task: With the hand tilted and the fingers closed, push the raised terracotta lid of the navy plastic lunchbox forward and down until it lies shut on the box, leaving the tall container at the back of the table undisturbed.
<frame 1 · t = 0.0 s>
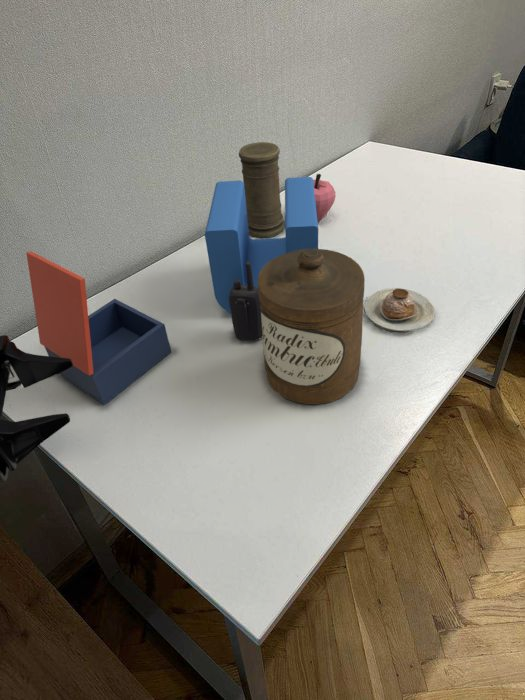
hand: (70, 388, 60), 16 cm above the table, tool horizontal, fingers open, 9 cm apart
two-way radio: (248, 338, 88), on the table
lunchbox: (114, 362, 85), on the table
block: (268, 289, 98), on the table
pastry: (398, 314, 90), on the table
wooden container: (312, 371, 81), on the table
apple: (315, 219, 117), on the table
container: (265, 228, 116), on the table
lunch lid: (60, 314, 73), point 14 cm above the table, hinge at 75.0°
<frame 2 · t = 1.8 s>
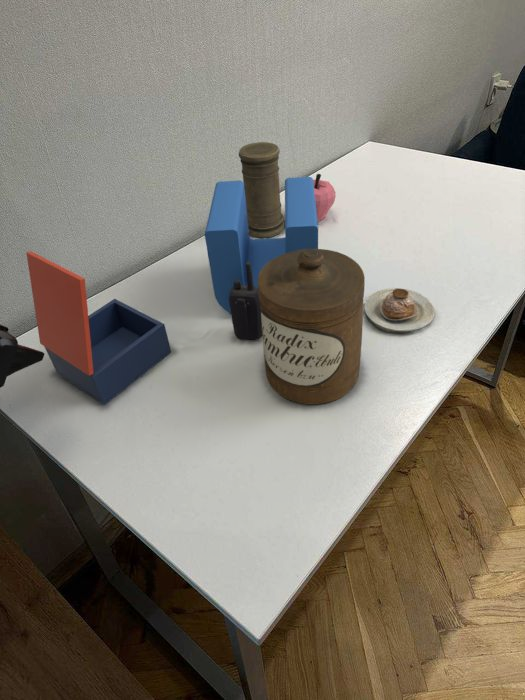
hand: (24, 343, 70), 13 cm above the table, tool tilted 45°, fingers open, 9 cm apart
nothing on the table moved.
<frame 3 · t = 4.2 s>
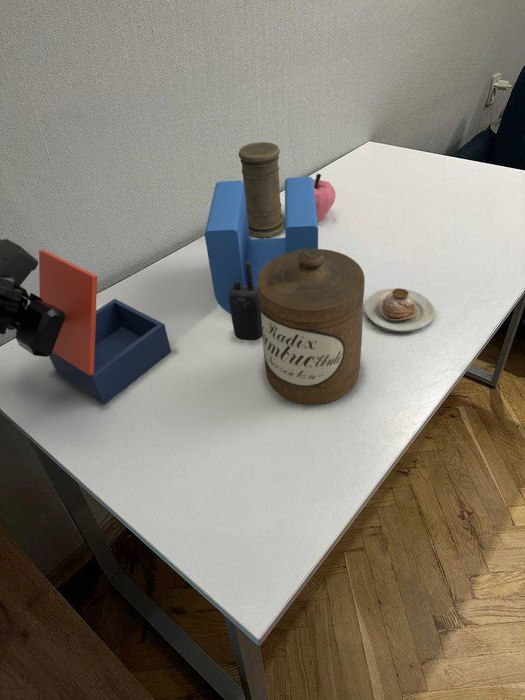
hand: (62, 320, 74), 13 cm above the table, tool tilted 45°, fingers closed, pressing on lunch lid
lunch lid: (66, 312, 74), point 14 cm above the table, hinge at 67.5°, touching gripper
everything else where it was.
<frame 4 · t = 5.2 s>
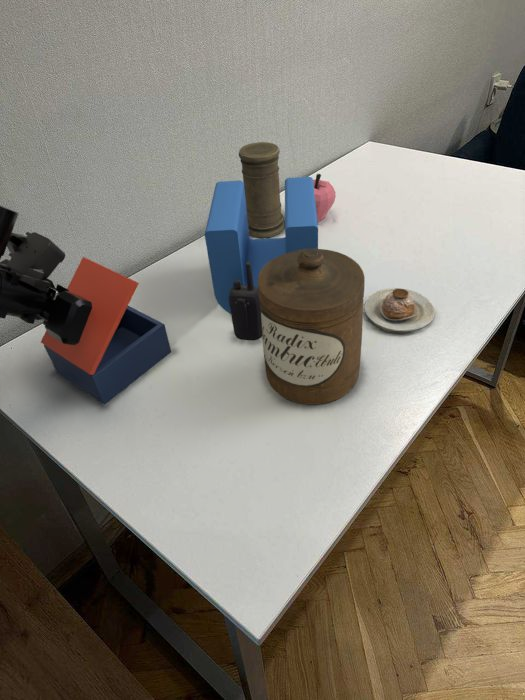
hand: (85, 311, 77), 12 cm above the table, tool tilted 45°, fingers closed, pressing on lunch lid
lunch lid: (87, 313, 77), point 11 cm above the table, hinge at 38.3°, touching gripper
everything else where it was.
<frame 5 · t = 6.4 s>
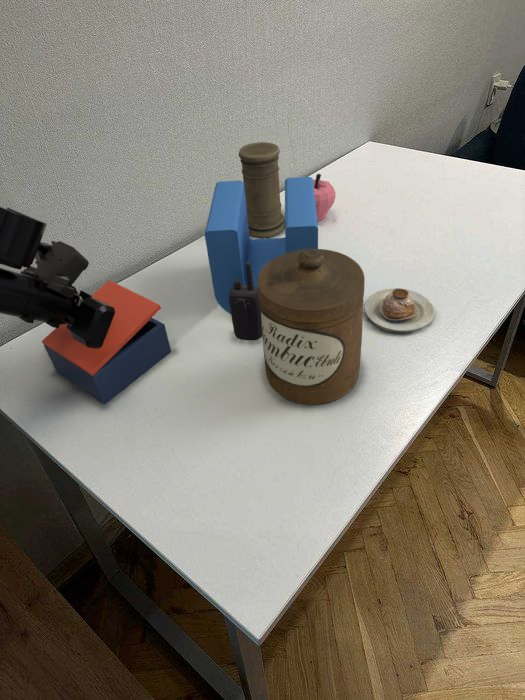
hand: (105, 315, 80), 9 cm above the table, tool tilted 45°, fingers closed, pressing on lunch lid
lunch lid: (101, 324, 80), point 8 cm above the table, hinge at 11.4°, touching gripper
everything else where it was.
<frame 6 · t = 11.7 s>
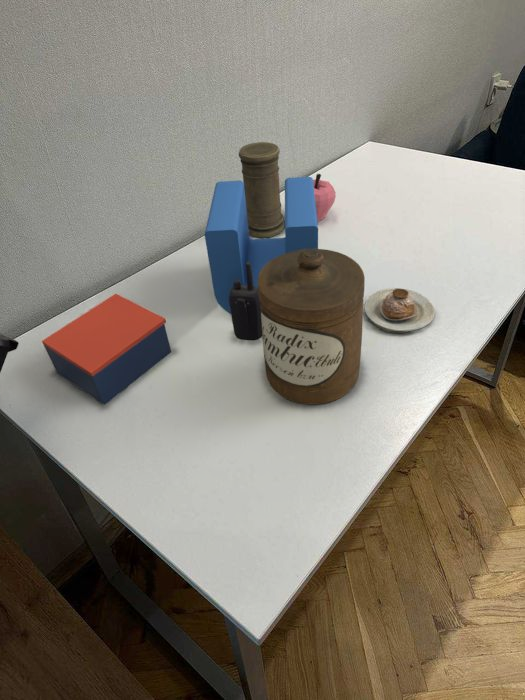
hand: (16, 344, 69), 14 cm above the table, tool tilted 45°, fingers closed
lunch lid: (105, 331, 81), point 7 cm above the table, hinge at -0.2°, touching lunchbox
everything else where it was.
at the end: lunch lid at +0° (first picture: +75°); container moved 0.2 cm from its start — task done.
